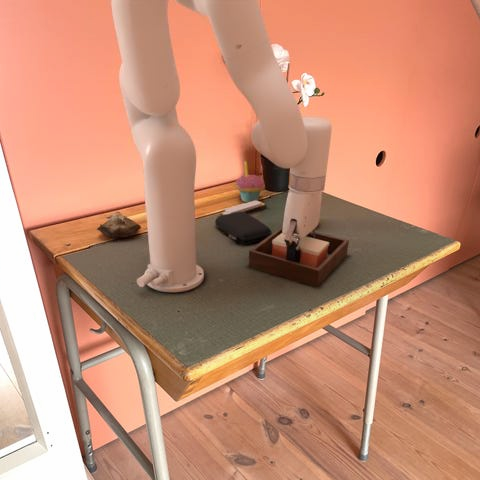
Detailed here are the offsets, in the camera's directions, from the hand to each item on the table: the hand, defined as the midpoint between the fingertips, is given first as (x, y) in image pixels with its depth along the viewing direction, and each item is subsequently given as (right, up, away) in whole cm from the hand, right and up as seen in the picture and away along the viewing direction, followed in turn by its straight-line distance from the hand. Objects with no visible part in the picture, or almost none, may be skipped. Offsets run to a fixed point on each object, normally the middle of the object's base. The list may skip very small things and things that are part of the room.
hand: (299, 257), depth 113 cm
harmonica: (-13, +15, +24) cm, 31 cm away
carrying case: (-13, +8, +13) cm, 20 cm away
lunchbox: (0, -1, 0) cm, 1 cm away
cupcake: (-11, +21, +33) cm, 40 cm away
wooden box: (0, -1, 0) cm, 1 cm away
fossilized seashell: (-43, +7, +10) cm, 45 cm away
